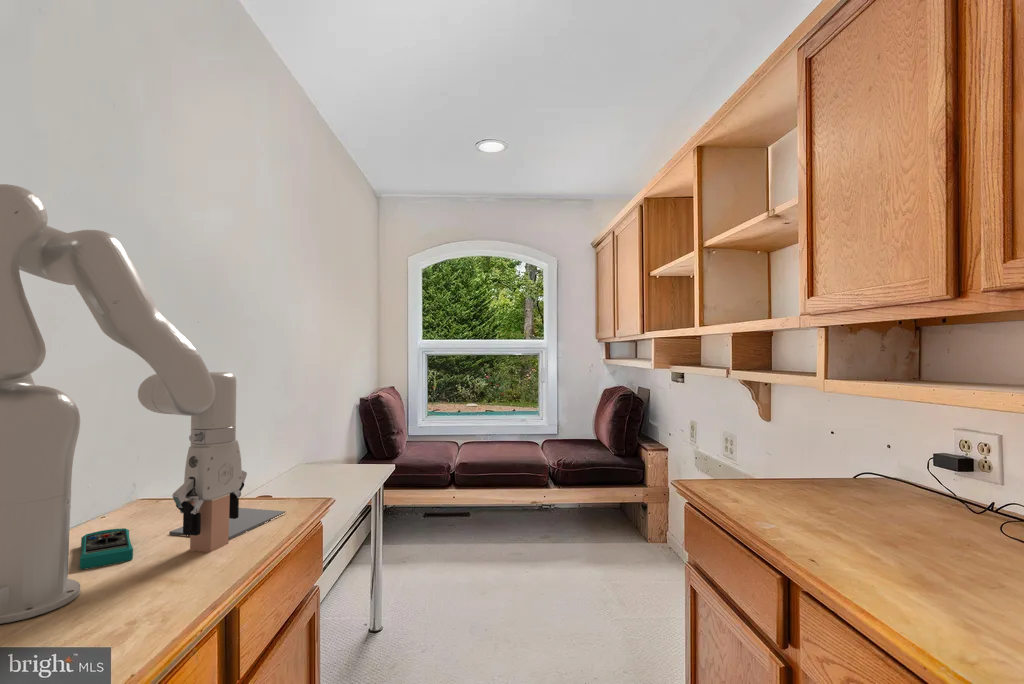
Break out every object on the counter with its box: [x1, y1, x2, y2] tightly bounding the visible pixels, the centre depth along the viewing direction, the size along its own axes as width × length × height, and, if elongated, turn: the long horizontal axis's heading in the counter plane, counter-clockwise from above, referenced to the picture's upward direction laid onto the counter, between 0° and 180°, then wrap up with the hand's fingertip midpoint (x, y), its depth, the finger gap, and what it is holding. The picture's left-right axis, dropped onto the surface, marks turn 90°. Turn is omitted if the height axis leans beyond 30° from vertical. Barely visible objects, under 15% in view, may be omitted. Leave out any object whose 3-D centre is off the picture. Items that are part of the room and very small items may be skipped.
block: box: [189, 494, 230, 553], centre depth 99 cm, size 4×4×10 cm
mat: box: [169, 507, 287, 541], centre depth 113 cm, size 18×14×1 cm
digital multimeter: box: [79, 528, 134, 570], centre depth 95 cm, size 7×15×3 cm, turn 39°
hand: (212, 525), depth 99 cm, fingers open, 9 cm apart
